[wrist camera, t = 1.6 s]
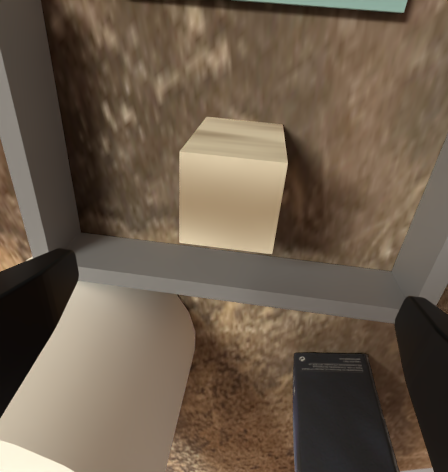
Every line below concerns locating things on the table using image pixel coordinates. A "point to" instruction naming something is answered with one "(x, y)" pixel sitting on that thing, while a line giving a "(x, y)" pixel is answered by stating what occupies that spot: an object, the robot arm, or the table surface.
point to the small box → (338, 416)
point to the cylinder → (103, 386)
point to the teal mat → (345, 4)
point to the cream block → (232, 184)
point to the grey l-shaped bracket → (180, 256)
